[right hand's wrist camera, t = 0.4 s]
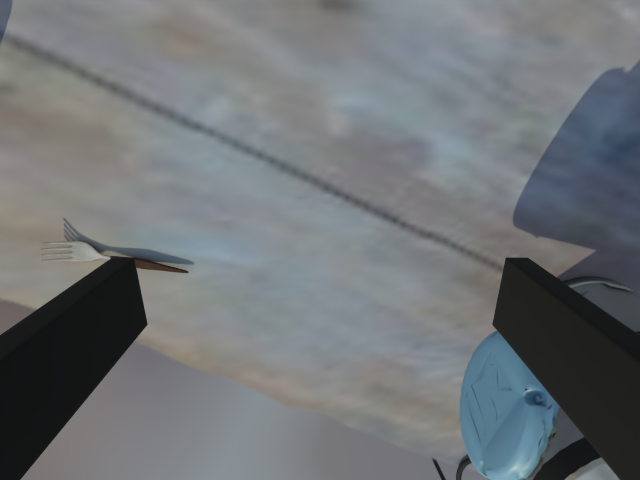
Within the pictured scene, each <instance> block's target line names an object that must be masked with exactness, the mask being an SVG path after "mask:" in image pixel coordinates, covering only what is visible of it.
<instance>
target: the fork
mask: <svg viewBox="0 0 640 480" xmlns="http://www.w3.org/2000/svg"><path fill="white" fill-rule="evenodd" d="M41 244H70V245H72V246H71V247H57V248H44V249H42V250H72V252H67V253H52V254H42V255H70V256H72V257H71V258H59V259H47V260H42V261H81V262H84V261H91V260H95V259H98V258H103V259H108V260H110V259H111V258H130V257H117V256H106V255H102V254H100V253H99V252H98V251H97V250H95V249H94V248H93V247H92V246H91V245H89V244H88V243H86V242H82V241H64V242H47V243H41ZM134 260H135V265H136V268H141V269H149V270H161V271H170V272H179V273H188V271H186V270H182V269H178V268H175V267H171V266H167V265H163V264H159V263H156V262H152V261H149V260H144V259H139V258H134Z"/></svg>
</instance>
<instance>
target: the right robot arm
mask: <svg viewBox="0 0 640 480" xmlns="http://www.w3.org/2000/svg"><path fill="white" fill-rule="evenodd" d="M147 325H148V324H147V319H146V315H145V310H144V305H143V300H142V295H141V290H140V285H139V280H138V275H137V270H136V265H135V260H134V258H111V259H110V260H108V261H107V262H105V263H104V264H103V265H101V266H100V267H98V268H97V269H95V270H94V271H92V272H91V273H90V274H88V275H87V276H85V277H84V278H82V279H81V280H79V281H78V282H77V283H75V284H74V285H72V286H71V287H69V288H68V289H66V290H65V291H64V292H62V293H61V294H59V295H58V296H56V297H55V298H53V299H52V300H51V301H49V302H48V303H46V304H45V305H43V306H42V307H40V308H39V309H37V310H36V311H35V312H33V313H32V314H30V315H29V316H27V317H26V318H25V319H23V320H22V321H20V322H19V323H17V324H16V325H14V326H13V327H11V328H10V329H9V330H7V331H6V332H4V333H3V334H1V335H0V480H20V479H21V478H22V477H23V476H24V474H25V473H26V472H27V471H28V470H29V468H30V467H31V466H32V465H33V464H34V462H35V461H36V460H37V459H38V457H39V456H40V455H41V454H42V453H43V451H44V450H45V449H46V448H47V446H48V445H49V444H50V443H51V442H52V440H53V439H54V438H55V437H56V435H57V434H58V433H59V432H60V431H61V429H62V428H63V427H64V426H65V424H66V423H67V422H68V421H69V420H70V418H71V417H72V416H73V415H74V414H75V412H76V411H77V410H78V409H79V407H80V406H81V405H82V404H83V403H84V401H85V400H86V399H87V398H88V396H89V395H90V394H91V393H92V392H93V390H94V389H95V388H96V387H97V385H98V384H99V383H100V382H101V381H102V379H103V378H104V377H105V376H106V374H107V373H108V372H109V371H110V370H111V368H112V367H113V366H114V365H115V363H116V362H117V361H118V360H119V359H120V357H121V356H122V355H123V354H124V353H125V351H126V350H127V349H128V348H129V346H130V345H131V344H132V343H133V342H134V340H135V339H136V338H137V337H138V335H139V334H140V333H141V332H142V331H143V329H144V328H145V327H146V326H147ZM492 325H493V326H494V327H495V328H496V329H497V331H498V332H499V333H500V334H501V336H502V337H503V338H504V339H505V340H506V342H507V343H508V344H509V345H510V346H511V348H512V349H513V350H514V351H515V353H516V354H517V355H518V356H519V357H520V359H521V360H522V361H523V362H524V364H525V365H526V366H527V367H528V368H529V370H530V371H531V372H532V373H533V375H534V376H535V377H536V378H537V379H538V381H539V382H540V383H541V384H542V385H543V387H544V388H545V389H546V390H547V392H548V393H549V394H550V395H551V396H552V398H553V399H554V400H555V401H556V403H557V404H558V405H559V406H560V407H561V409H562V410H563V411H564V412H565V414H566V415H567V416H568V417H569V418H570V420H571V421H572V422H573V423H574V424H575V426H576V427H577V428H578V429H579V431H580V432H581V433H582V434H583V435H584V437H585V438H586V439H587V440H588V442H589V443H590V444H591V445H592V446H593V448H594V449H595V450H596V451H597V453H598V454H599V455H600V456H601V457H602V459H603V460H604V461H605V462H606V464H607V465H608V466H609V467H610V468H611V470H612V471H613V472H614V473H615V474H616V476H617V477H618V478H619V479H620V480H640V334H639V333H636V332H634V331H633V330H631V329H630V328H629V327H627V326H626V325H624V324H623V323H621V322H620V321H618V320H617V319H616V318H614V317H613V316H611V315H610V314H608V313H607V312H605V311H604V310H603V309H601V308H600V307H598V306H597V305H595V304H594V303H592V302H591V301H589V300H588V299H587V298H585V297H584V296H582V295H581V294H579V293H578V292H576V291H575V290H574V289H572V288H571V287H569V286H568V285H566V284H565V283H563V282H562V281H561V280H559V279H558V278H556V277H555V276H553V275H552V274H550V273H549V272H548V271H546V270H545V269H543V268H542V267H540V266H539V265H537V264H536V263H535V262H533V261H532V260H530V259H529V258H506V260H505V265H504V270H503V275H502V280H501V285H500V290H499V295H498V300H497V305H496V310H495V315H494V319H493V324H492Z"/></svg>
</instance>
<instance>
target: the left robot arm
mask: <svg viewBox="0 0 640 480" xmlns="http://www.w3.org/2000/svg"><path fill="white" fill-rule="evenodd" d="M563 283H565V284H566V285H568V286H569V287H571V288H572V289H574V290H575V291H576V292H578V293H579V294H581V295H582V296H584V297H585V298H587V299H588V300H589V301H591V302H592V303H594V304H595V305H597V306H598V307H600V308H601V309H603V310H604V311H605V312H607V313H608V314H610V315H611V316H613V317H614V318H616V319H617V320H618V321H620V322H621V323H623V324H624V325H626V326H627V327H629V328H630V329H631V330H633V331H634V332H636V333H639V334H640V298H639V297H637V296H636V295H635V294H634V293H633V292H631V291H633V290H631V289H630V288H628V287H624V286H621V285H620V284H618V283H616V282H614V281H611V280H608V279H604V278H598V277H584V278H577V279H572V280H569V281H566V282H563ZM630 290H631V291H630ZM460 426H461V432H462V438H463V442H464V445H465V449H466V451H467V454H468V456H469V458H467V459H466V460H464V461H463V462H462V463H461V464H460V465H459V467H458V470H457V474H456V480H461V476H462V472H463V470H464V468H465V467H466V466H467V465H468V464H470V463H472V464H473V465H474V467H475V468H476V469H477V470H478V471H479V473H480V474H482V475H483V476H484V477H487V478H489V479H491V480H620V479H619V478H618V477H617V476H616V474H615V473H614V472H613V471H612V470H611V468H610V467H609V466H608V465H607V464H606V462H605V461H604V460H603V459H602V457H601V456H600V455H599V454H598V453H597V451H596V450H595V449H594V448H593V446H592V445H591V444H590V443H589V442H588V440H587V439H586V438H585V437H584V435H583V434H582V433H581V432H580V431H579V429H578V428H577V427H576V426H575V424H574V423H573V422H572V421H571V420H570V418H569V417H568V416H567V415H566V414H565V412H564V411H563V410H562V409H561V407H560V406H559V405H558V404H557V403H556V401H555V400H554V399H553V398H552V396H551V395H550V394H549V393H548V392H547V390H546V389H545V388H544V387H543V385H542V384H541V383H540V382H539V381H538V379H537V378H536V377H535V376H534V375H533V373H532V372H531V371H530V370H529V368H528V367H527V366H526V365H525V364H524V362H523V361H522V360H521V359H520V357H519V356H518V355H517V354H516V353H515V351H514V350H513V349H512V348H511V346H510V345H509V344H508V343H507V342H506V340H505V339H504V338H503V337H502V336H501V334H500V333H499V332H498V331H496V332H494V333H492V334H490V335H489V336H488V337H486V338H485V339H484V340H483V341H482V342H481V343H480V345H479V346H478V347H477V349H476V350H475V352H474V354H473V355H472V357H471V359H470V361H469V364H468V366H467V369H466V372H465V376H464V379H463V384H462V390H461V398H460ZM432 460H433V463H434V465H435V467H436V469H437V471H438V473H439V476H440V478H441V480H446V479H445V477H444V475H443V473H442V471H441V469H440V466H439V464H438V462H437V460H436V459H433V458H432Z"/></svg>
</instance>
